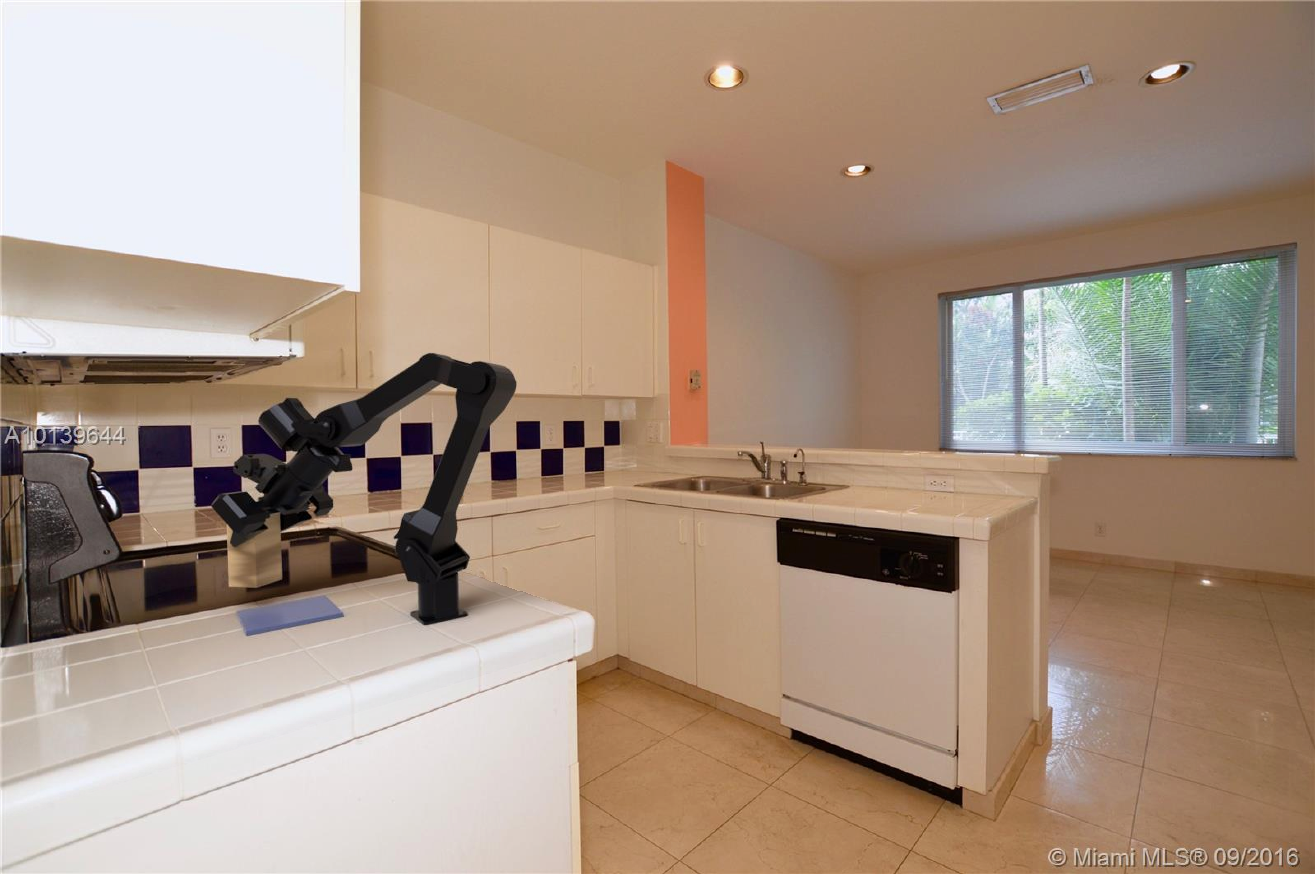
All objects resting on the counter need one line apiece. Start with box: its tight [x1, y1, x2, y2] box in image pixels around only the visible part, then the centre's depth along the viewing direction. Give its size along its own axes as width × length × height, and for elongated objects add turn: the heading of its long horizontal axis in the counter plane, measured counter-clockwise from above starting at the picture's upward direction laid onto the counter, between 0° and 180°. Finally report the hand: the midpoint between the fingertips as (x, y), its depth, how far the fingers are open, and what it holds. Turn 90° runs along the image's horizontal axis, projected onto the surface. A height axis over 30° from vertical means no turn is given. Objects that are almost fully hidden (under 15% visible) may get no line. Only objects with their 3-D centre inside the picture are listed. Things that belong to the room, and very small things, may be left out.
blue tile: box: [236, 594, 344, 636], centre depth 90 cm, size 12×12×1 cm
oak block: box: [226, 513, 283, 589], centre depth 95 cm, size 5×5×12 cm
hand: (247, 541), depth 96 cm, fingers closed on oak block, 5 cm apart
